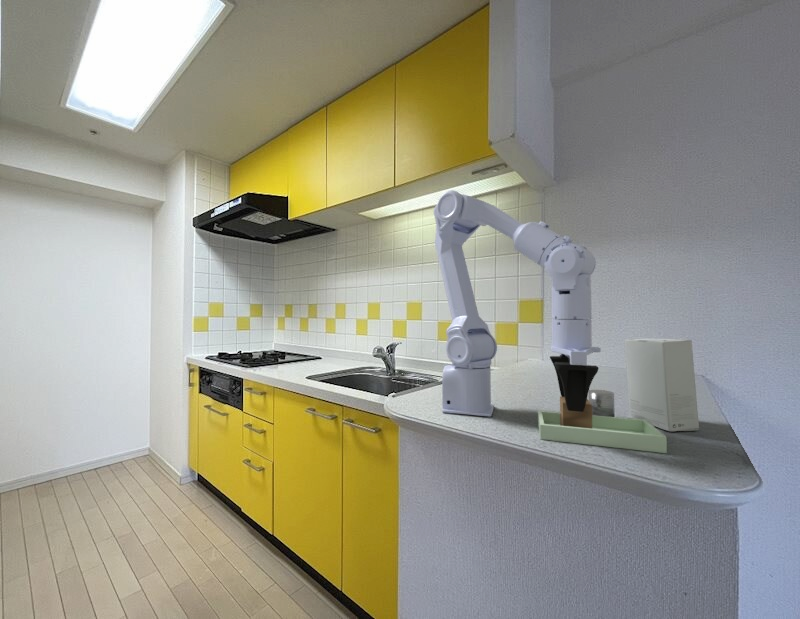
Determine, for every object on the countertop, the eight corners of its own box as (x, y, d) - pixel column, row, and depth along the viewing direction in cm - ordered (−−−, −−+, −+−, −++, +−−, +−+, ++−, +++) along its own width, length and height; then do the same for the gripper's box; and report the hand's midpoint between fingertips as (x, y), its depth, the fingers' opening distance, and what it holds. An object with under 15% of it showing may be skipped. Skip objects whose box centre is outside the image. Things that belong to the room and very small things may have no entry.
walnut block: (563, 434, 52) (562, 402, 52) (560, 426, 56) (559, 396, 56) (592, 437, 50) (591, 404, 51) (587, 429, 54) (586, 398, 54)
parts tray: (540, 439, 51) (540, 424, 51) (538, 423, 59) (537, 410, 59) (666, 453, 46) (666, 437, 46) (646, 433, 53) (645, 419, 53)
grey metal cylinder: (591, 421, 59) (590, 393, 59) (587, 415, 63) (586, 389, 63) (617, 424, 58) (616, 395, 58) (611, 417, 62) (611, 390, 62)
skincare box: (700, 431, 54) (697, 339, 54) (667, 433, 53) (665, 340, 54) (653, 415, 62) (652, 336, 63) (625, 417, 62) (623, 337, 62)
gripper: (611, 320, 45) (612, 420, 45) (590, 318, 59) (591, 395, 59) (554, 320, 48) (555, 415, 48) (547, 318, 61) (547, 392, 61)
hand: (571, 404), depth 53 cm, fingers open, 7 cm apart
